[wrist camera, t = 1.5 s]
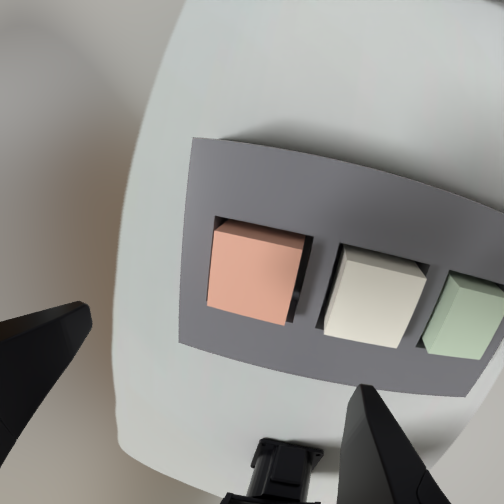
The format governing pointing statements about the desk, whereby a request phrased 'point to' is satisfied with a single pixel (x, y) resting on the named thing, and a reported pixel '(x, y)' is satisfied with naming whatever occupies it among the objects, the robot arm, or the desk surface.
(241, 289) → the terracotta key
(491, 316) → the sage key
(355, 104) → the desk surface
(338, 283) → the cream key
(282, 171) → the keyguard
